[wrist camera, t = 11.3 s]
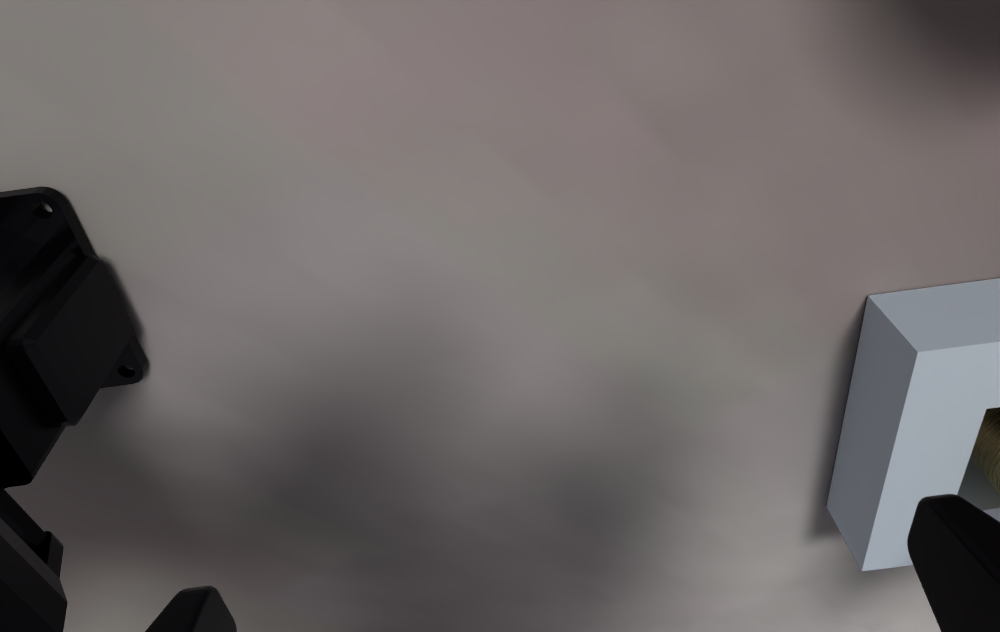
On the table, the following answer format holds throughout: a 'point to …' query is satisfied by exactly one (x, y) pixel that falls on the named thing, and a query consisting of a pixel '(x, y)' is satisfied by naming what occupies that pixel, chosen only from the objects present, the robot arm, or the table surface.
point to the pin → (989, 447)
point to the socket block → (915, 414)
